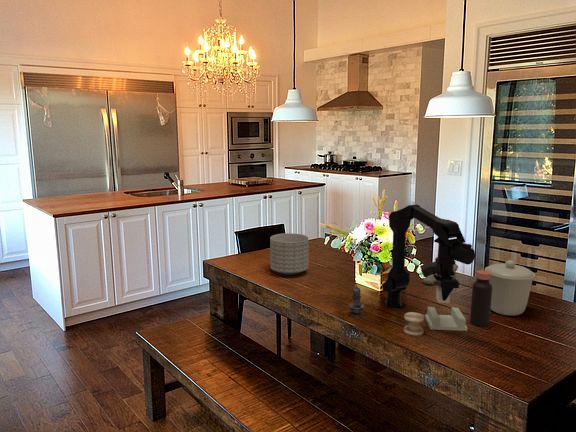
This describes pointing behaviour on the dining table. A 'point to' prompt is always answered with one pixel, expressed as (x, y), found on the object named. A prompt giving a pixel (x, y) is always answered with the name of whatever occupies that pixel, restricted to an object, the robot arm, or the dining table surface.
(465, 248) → the robot arm
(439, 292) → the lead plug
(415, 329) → the bobbin
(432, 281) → the long grey stone
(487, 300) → the bottle
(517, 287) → the canister
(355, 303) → the flange bolt
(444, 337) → the dining table surface
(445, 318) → the notch board
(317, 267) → the dining table surface
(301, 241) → the planter
